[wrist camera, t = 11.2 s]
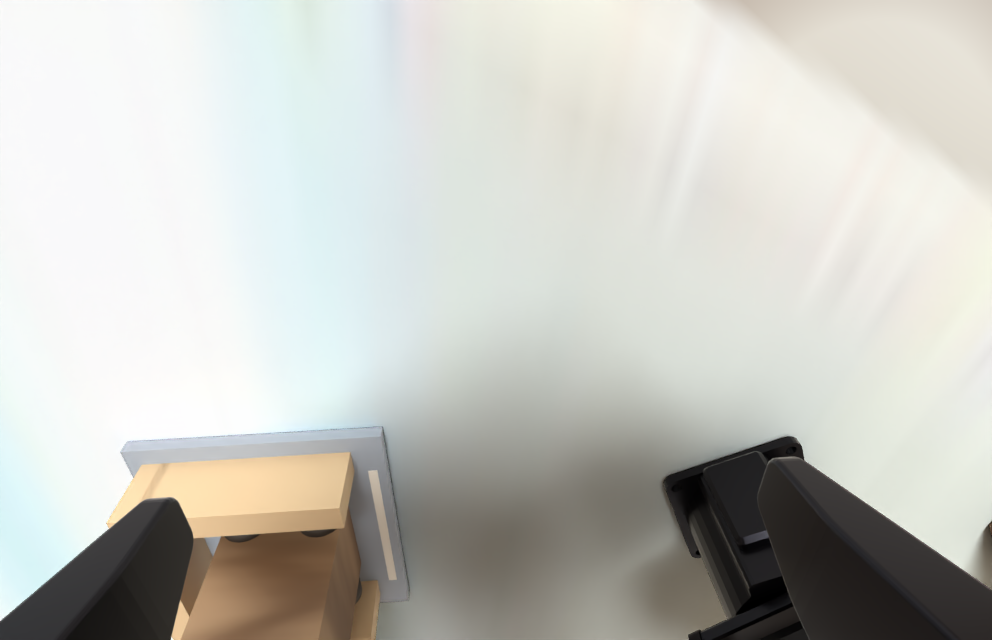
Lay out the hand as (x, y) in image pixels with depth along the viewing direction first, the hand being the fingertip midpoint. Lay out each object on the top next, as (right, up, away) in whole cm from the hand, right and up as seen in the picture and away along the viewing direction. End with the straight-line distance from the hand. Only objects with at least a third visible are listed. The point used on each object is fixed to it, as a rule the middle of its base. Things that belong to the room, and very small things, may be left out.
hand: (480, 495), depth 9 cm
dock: (-10, -7, +19) cm, 23 cm away
